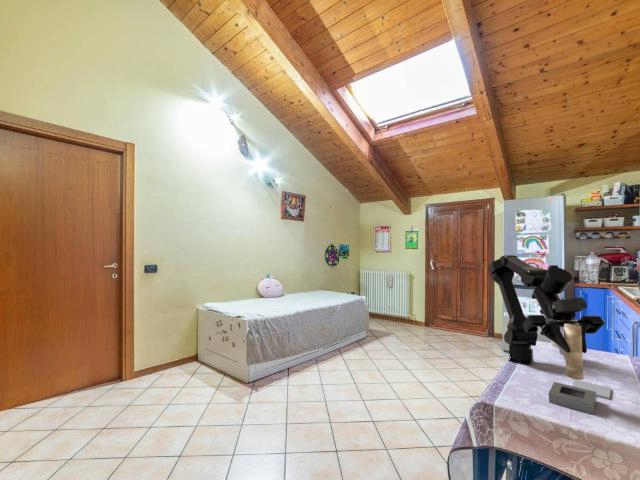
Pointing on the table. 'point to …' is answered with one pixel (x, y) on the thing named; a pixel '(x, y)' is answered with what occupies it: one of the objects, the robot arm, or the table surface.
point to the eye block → (573, 397)
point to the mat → (594, 388)
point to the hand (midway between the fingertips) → (577, 352)
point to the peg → (574, 351)
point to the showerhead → (559, 349)
